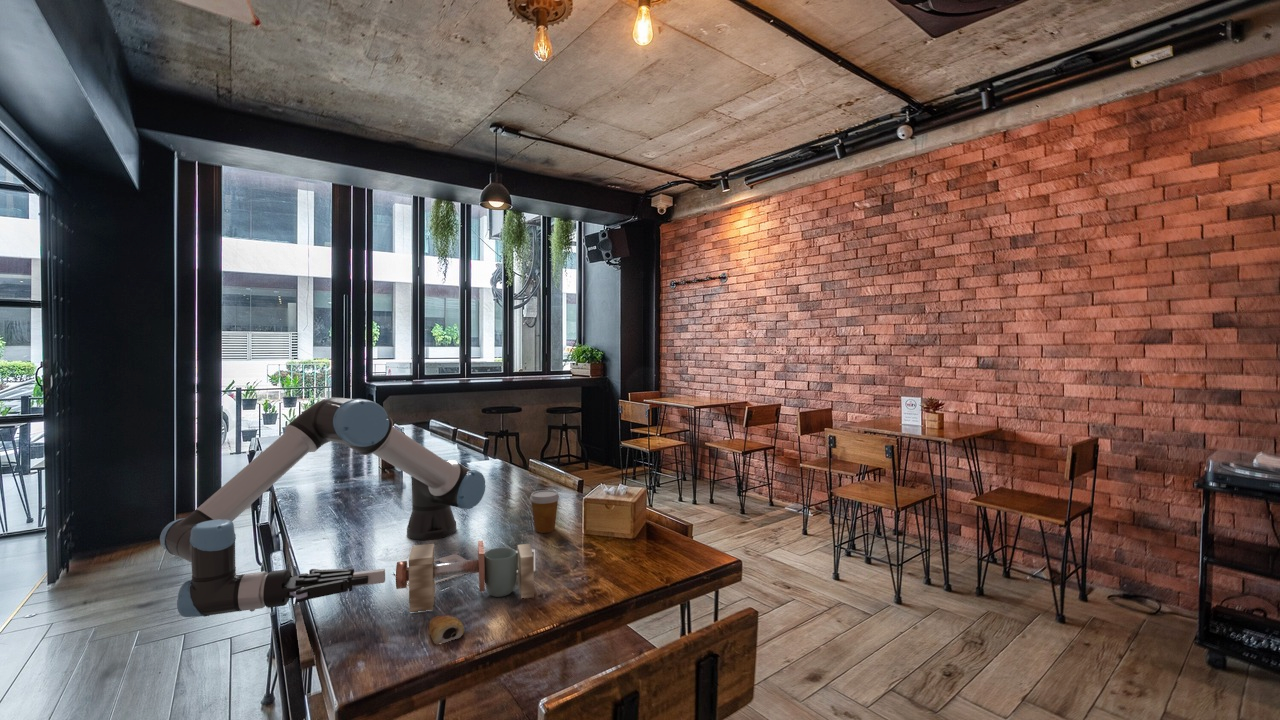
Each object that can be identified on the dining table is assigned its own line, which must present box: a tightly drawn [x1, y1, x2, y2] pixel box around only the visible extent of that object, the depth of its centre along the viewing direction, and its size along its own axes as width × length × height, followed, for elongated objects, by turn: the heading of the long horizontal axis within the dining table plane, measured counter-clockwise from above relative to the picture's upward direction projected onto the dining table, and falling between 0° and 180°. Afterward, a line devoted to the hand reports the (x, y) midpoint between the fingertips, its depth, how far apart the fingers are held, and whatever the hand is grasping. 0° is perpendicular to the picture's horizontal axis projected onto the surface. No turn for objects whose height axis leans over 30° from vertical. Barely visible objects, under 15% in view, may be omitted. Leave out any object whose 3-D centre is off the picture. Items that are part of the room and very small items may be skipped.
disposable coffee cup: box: [529, 489, 560, 534], centre depth 186 cm, size 10×10×12 cm
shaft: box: [395, 540, 486, 593], centre depth 135 cm, size 20×9×9 cm, turn 107°
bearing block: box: [408, 543, 436, 613], centre depth 134 cm, size 5×9×12 cm, turn 17°
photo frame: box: [407, 553, 469, 584], centre depth 153 cm, size 15×1×18 cm
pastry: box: [427, 614, 465, 645], centre depth 121 cm, size 9×7×4 cm
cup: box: [484, 547, 518, 598], centre depth 139 cm, size 8×8×10 cm
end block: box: [517, 543, 535, 600], centre depth 141 cm, size 3×9×10 cm, turn 17°
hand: (384, 575), depth 131 cm, fingers closed
